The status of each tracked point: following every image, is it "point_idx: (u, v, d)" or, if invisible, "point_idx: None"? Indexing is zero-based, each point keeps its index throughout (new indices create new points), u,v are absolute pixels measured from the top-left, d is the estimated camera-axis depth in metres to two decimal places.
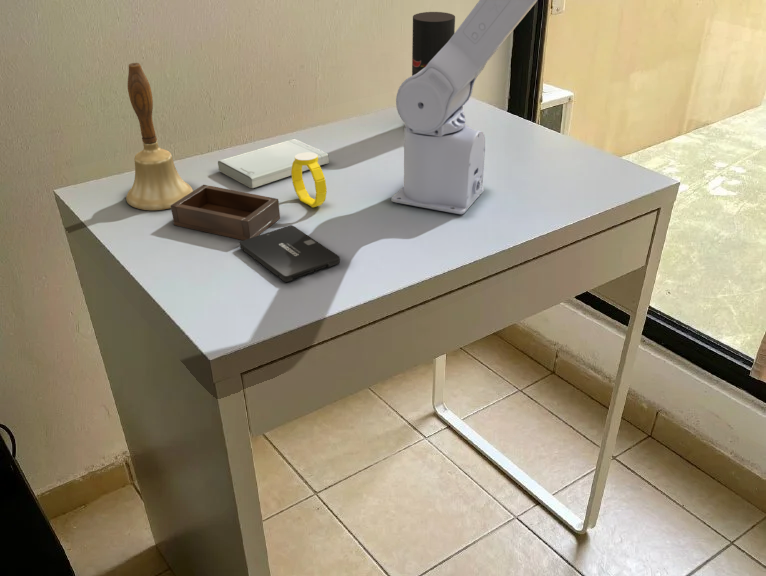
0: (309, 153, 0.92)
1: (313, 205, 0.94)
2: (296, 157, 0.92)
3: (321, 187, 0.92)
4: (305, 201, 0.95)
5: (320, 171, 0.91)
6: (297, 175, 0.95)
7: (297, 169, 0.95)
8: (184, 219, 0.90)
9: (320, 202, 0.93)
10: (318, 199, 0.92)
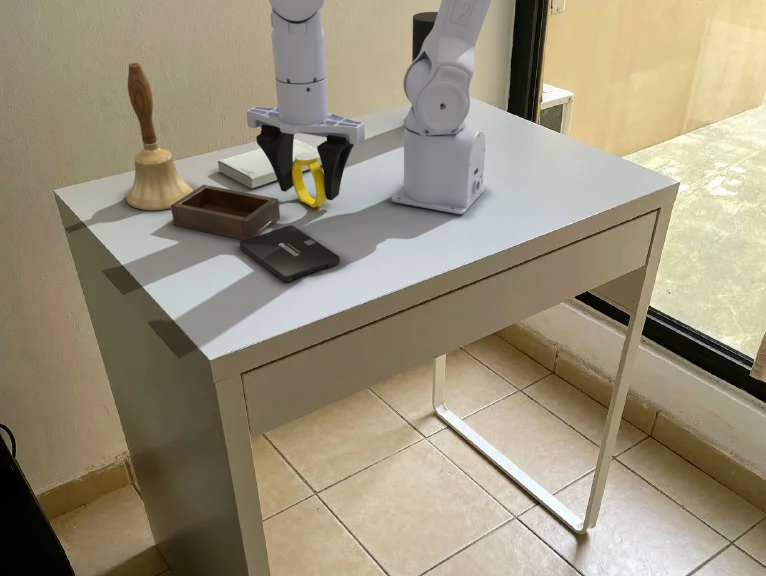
0: (309, 153, 0.92)
1: (313, 205, 0.94)
2: (296, 157, 0.92)
3: (321, 187, 0.92)
4: (305, 201, 0.95)
5: (320, 171, 0.91)
6: (297, 175, 0.95)
7: (297, 169, 0.95)
8: (184, 219, 0.90)
9: (320, 202, 0.93)
10: (318, 199, 0.92)
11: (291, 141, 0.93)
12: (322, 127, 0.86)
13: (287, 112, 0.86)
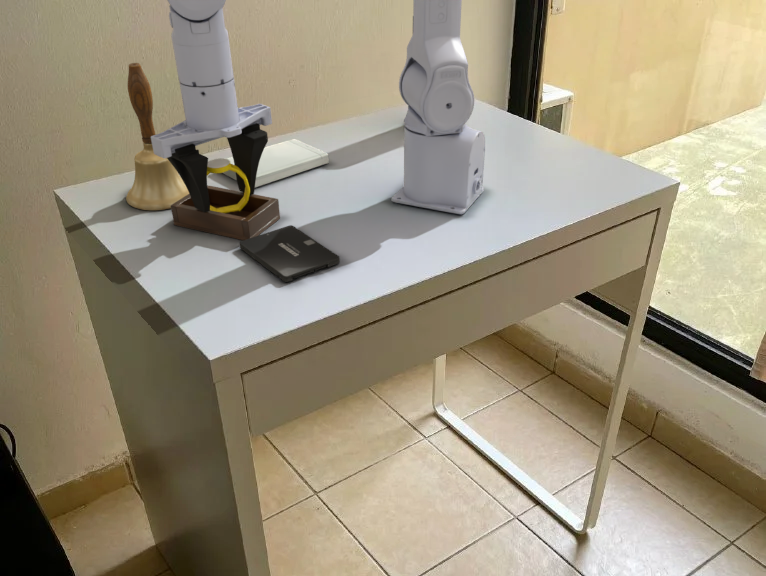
0: (212, 161, 0.88)
1: (242, 207, 0.90)
2: (215, 167, 0.86)
3: None
4: (225, 211, 0.90)
5: None
6: None
7: None
8: (184, 219, 0.90)
9: None
10: None
11: None
12: (249, 118, 0.85)
13: (223, 116, 0.82)
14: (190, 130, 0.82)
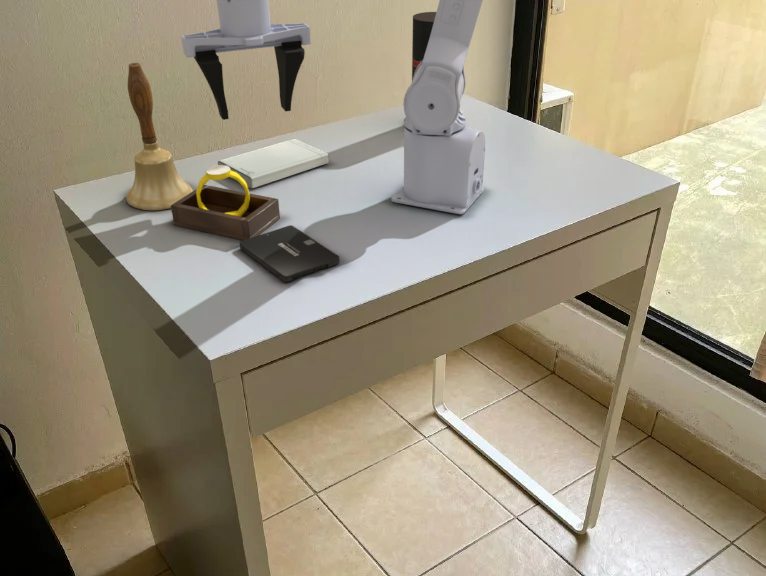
0: (213, 167, 0.88)
1: (242, 214, 0.91)
2: (215, 173, 0.87)
3: (248, 191, 0.90)
4: None
5: (240, 176, 0.89)
6: (200, 198, 0.89)
7: None
8: (184, 219, 0.90)
9: None
10: None
11: None
12: (280, 33, 0.87)
13: (246, 24, 0.85)
14: (219, 35, 0.87)
